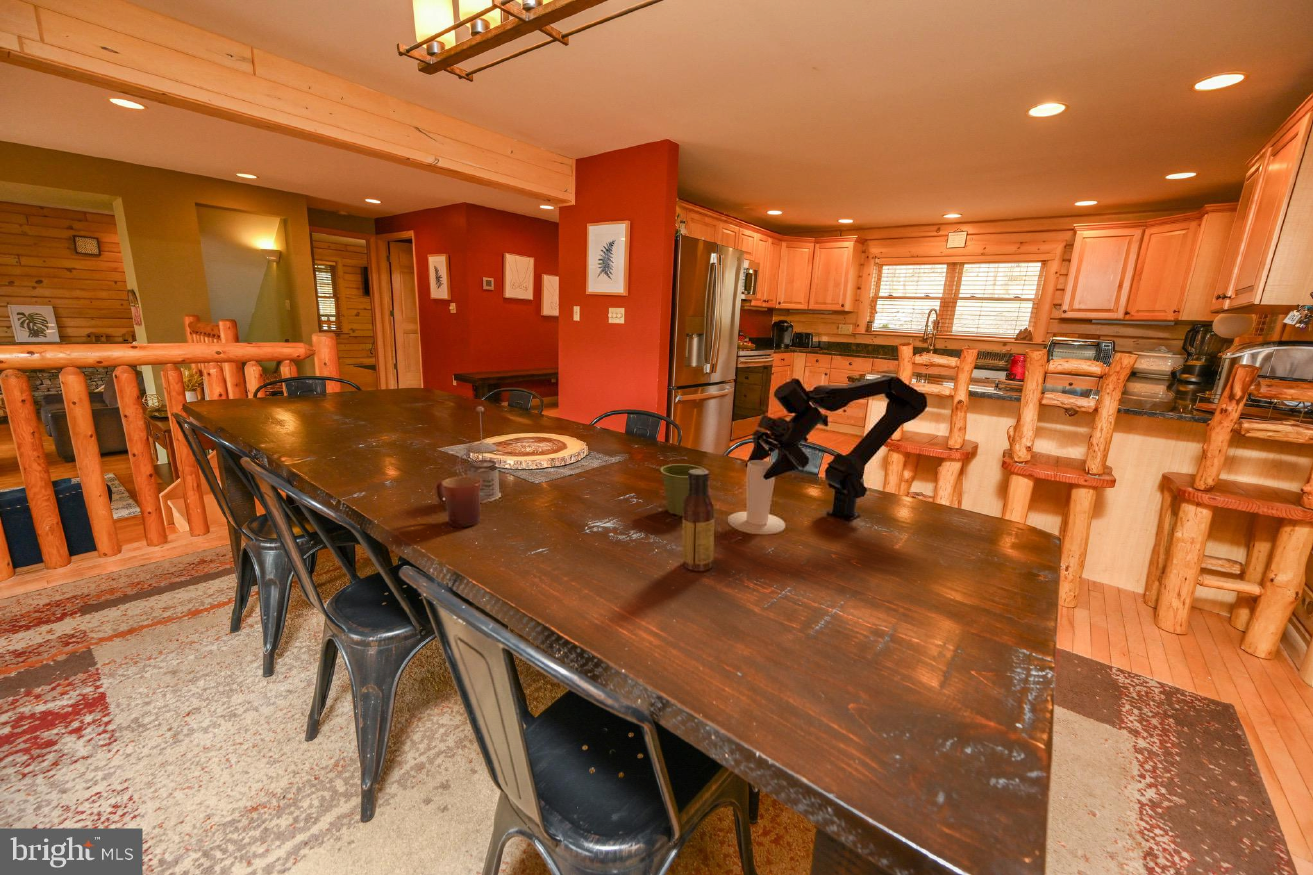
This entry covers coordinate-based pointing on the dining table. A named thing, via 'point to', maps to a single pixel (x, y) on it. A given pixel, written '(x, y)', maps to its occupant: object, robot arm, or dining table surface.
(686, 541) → the sauce bottle
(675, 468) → the plant pot
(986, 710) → the dining table surface
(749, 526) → the cream flat disc
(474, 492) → the mug
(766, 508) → the drinking glass
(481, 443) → the french press
